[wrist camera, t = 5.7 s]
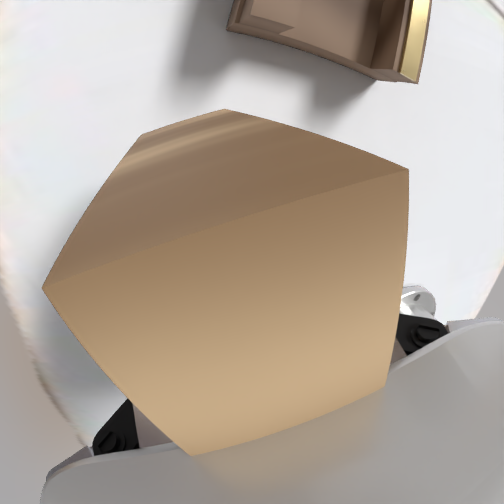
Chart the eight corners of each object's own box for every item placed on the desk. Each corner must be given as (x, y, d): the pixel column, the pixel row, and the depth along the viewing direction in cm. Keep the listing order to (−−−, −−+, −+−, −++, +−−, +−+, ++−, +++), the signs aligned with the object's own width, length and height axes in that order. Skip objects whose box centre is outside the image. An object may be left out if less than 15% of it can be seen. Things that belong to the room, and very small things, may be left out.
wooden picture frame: (281, 342, 16) (351, 489, 8) (225, 361, 16) (273, 517, 8) (224, 108, 10) (408, 168, 2) (135, 136, 9) (25, 294, 2)
